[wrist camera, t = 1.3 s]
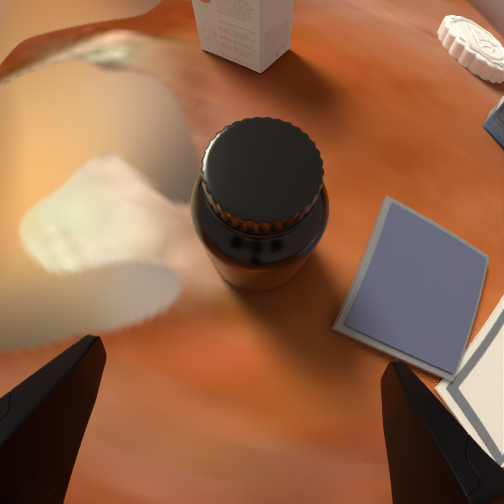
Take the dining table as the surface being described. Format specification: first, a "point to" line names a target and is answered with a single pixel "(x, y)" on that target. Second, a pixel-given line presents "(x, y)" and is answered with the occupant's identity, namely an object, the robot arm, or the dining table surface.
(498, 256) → the dining table surface
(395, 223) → the pad
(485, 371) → the marked card
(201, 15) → the small box
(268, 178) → the supplement bottle
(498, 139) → the label tape cartridge
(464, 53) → the mooncake
